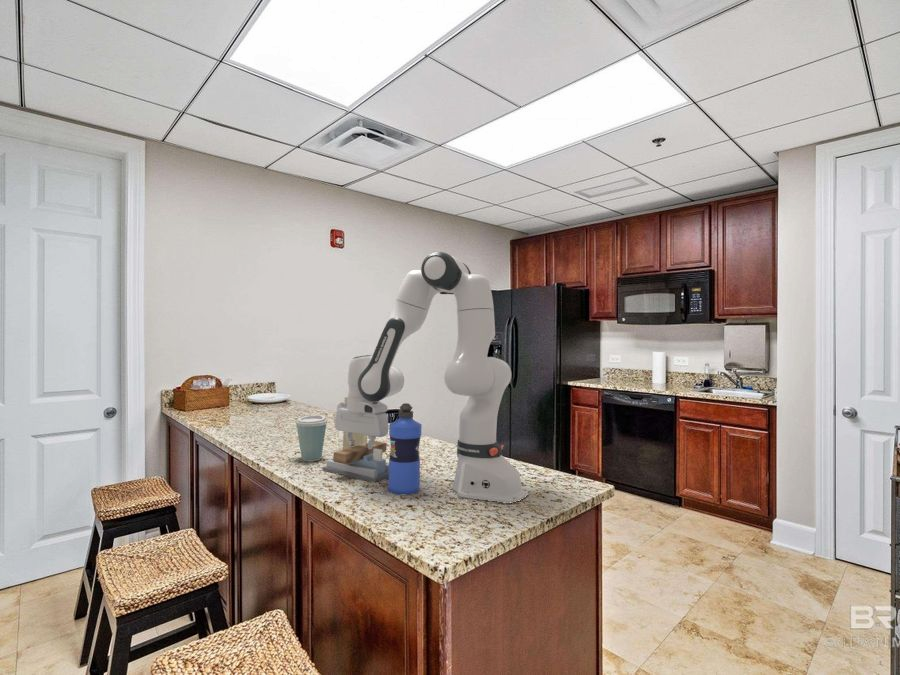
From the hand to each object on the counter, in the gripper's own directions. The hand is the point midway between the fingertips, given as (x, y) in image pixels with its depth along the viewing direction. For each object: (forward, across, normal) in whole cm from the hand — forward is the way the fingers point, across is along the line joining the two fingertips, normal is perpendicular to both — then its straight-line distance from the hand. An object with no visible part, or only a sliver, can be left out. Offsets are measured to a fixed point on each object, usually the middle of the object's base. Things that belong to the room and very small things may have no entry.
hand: (360, 447), depth 153 cm
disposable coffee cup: (+8, -24, +2) cm, 25 cm away
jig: (+8, 0, 0) cm, 8 cm away
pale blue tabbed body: (+7, 0, 0) cm, 7 cm away
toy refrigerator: (+8, -21, +22) cm, 31 cm away
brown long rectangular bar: (+3, 0, +1) cm, 3 cm away
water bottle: (+8, +22, -6) cm, 24 cm away
